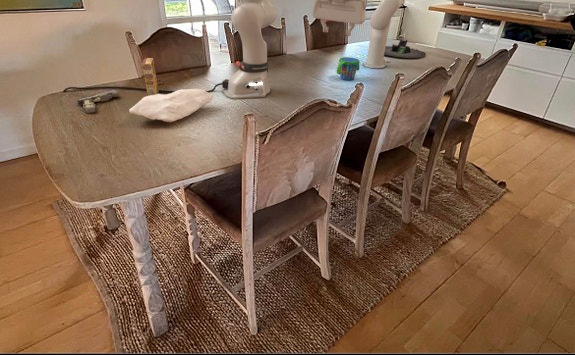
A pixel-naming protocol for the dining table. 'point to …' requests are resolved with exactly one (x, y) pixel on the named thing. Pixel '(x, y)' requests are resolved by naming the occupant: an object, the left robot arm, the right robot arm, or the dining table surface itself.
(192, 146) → the dining table surface
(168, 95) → the crumpled cloth
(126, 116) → the dining table surface
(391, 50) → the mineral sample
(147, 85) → the candy box
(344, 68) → the snack cup
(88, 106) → the handgun
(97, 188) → the dining table surface
